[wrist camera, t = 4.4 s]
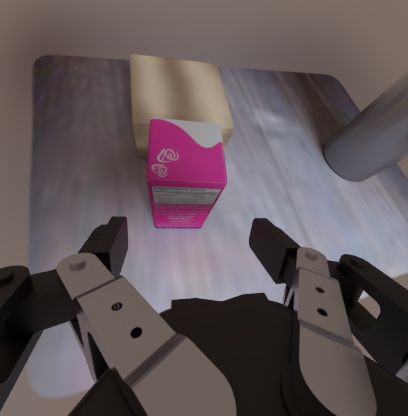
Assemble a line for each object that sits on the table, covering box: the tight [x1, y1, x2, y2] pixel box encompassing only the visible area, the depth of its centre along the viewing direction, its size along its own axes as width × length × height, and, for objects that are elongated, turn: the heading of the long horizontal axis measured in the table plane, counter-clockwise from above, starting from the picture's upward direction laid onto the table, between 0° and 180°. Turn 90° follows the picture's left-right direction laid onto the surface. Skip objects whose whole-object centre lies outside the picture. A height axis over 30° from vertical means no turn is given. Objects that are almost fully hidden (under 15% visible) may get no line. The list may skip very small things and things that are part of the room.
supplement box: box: [146, 117, 227, 228], centre depth 19 cm, size 6×6×12 cm
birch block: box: [130, 54, 234, 156], centre depth 27 cm, size 12×12×6 cm
